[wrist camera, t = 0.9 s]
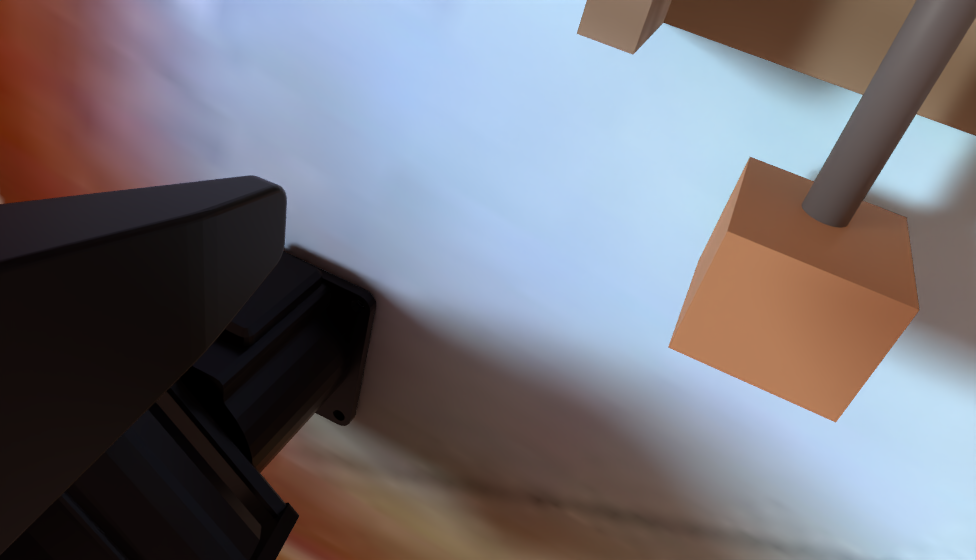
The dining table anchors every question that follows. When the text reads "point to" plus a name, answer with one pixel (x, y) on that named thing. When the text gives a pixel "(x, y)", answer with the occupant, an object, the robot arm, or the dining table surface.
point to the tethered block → (821, 246)
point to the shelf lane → (797, 40)
